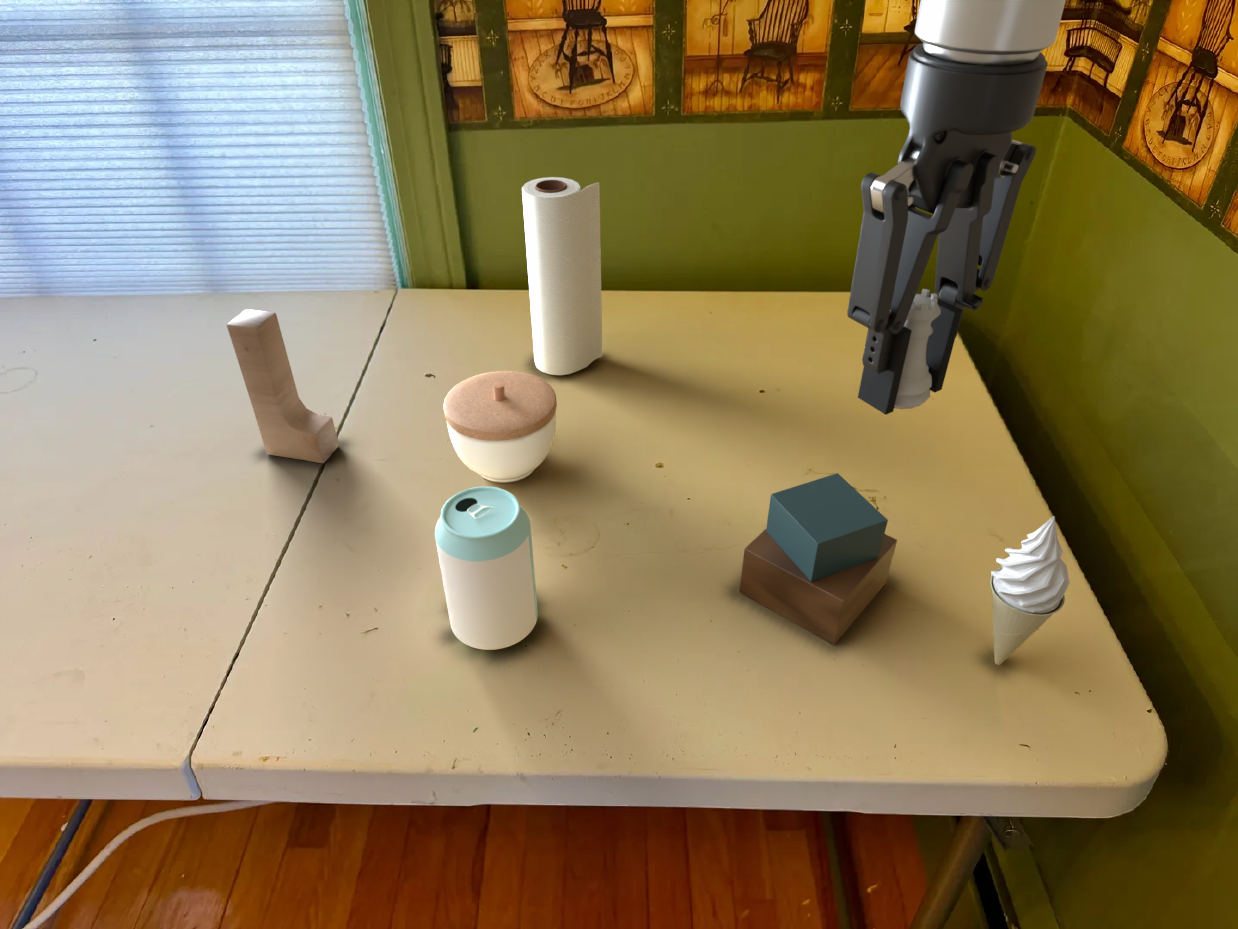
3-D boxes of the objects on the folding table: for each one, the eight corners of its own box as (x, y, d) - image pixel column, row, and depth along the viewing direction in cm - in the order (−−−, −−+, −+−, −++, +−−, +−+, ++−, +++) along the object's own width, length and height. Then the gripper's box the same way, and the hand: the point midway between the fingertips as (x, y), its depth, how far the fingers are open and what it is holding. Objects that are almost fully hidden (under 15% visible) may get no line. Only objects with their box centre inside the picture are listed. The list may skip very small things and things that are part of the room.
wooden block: (266, 454, 89) (225, 324, 80) (283, 436, 91) (245, 307, 82) (323, 464, 88) (289, 332, 78) (340, 445, 90) (308, 315, 81)
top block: (878, 557, 70) (888, 520, 67) (810, 582, 67) (817, 544, 65) (830, 509, 74) (837, 472, 72) (765, 531, 72) (770, 493, 70)
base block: (886, 583, 74) (897, 539, 71) (833, 645, 69) (843, 601, 66) (794, 537, 79) (801, 494, 76) (739, 592, 74) (743, 548, 70)
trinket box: (439, 493, 84) (426, 413, 78) (468, 429, 92) (457, 352, 87) (549, 502, 83) (544, 421, 77) (567, 436, 91) (564, 359, 86)
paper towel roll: (526, 371, 102) (511, 191, 89) (547, 346, 106) (536, 171, 93) (583, 383, 100) (576, 200, 87) (602, 357, 104) (599, 179, 91)
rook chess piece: (923, 379, 66) (946, 281, 61) (934, 413, 62) (959, 312, 57) (863, 377, 66) (880, 280, 61) (870, 410, 62) (889, 310, 57)
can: (443, 654, 68) (421, 541, 61) (460, 589, 74) (442, 478, 67) (532, 657, 68) (521, 544, 61) (543, 591, 74) (534, 481, 66)
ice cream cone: (960, 633, 70) (1010, 488, 61) (1027, 643, 69) (1088, 497, 60) (966, 683, 66) (1022, 536, 57) (1037, 694, 65) (1105, 546, 56)
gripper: (1019, 17, 56) (939, 339, 70) (820, 54, 48) (775, 407, 62) (1130, 39, 51) (1019, 380, 65) (927, 84, 43) (852, 459, 57)
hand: (900, 392), depth 64 cm, fingers closed on rook chess piece, 4 cm apart
